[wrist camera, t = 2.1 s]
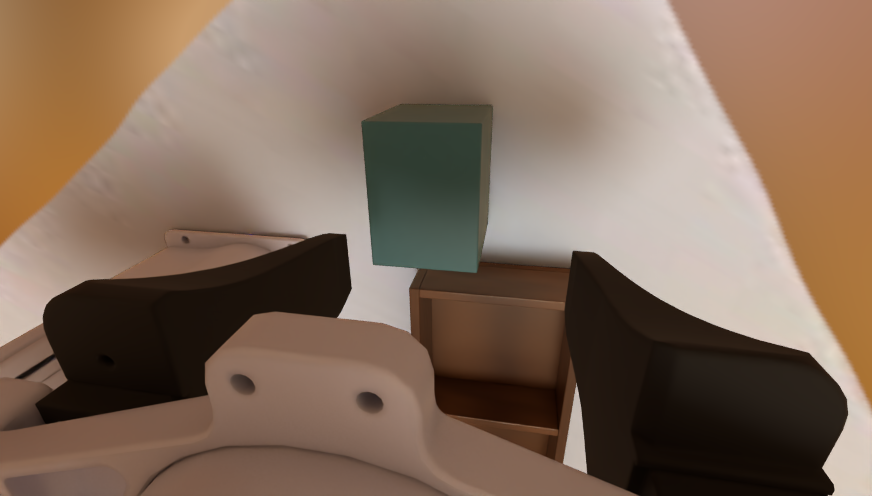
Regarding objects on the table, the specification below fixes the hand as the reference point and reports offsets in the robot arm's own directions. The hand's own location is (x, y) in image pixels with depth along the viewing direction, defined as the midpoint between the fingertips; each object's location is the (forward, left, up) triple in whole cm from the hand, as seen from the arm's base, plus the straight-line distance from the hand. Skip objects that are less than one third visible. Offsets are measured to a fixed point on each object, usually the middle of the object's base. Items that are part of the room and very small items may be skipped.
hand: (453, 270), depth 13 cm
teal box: (-2, +1, -9) cm, 9 cm away
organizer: (+1, -16, -9) cm, 19 cm away
